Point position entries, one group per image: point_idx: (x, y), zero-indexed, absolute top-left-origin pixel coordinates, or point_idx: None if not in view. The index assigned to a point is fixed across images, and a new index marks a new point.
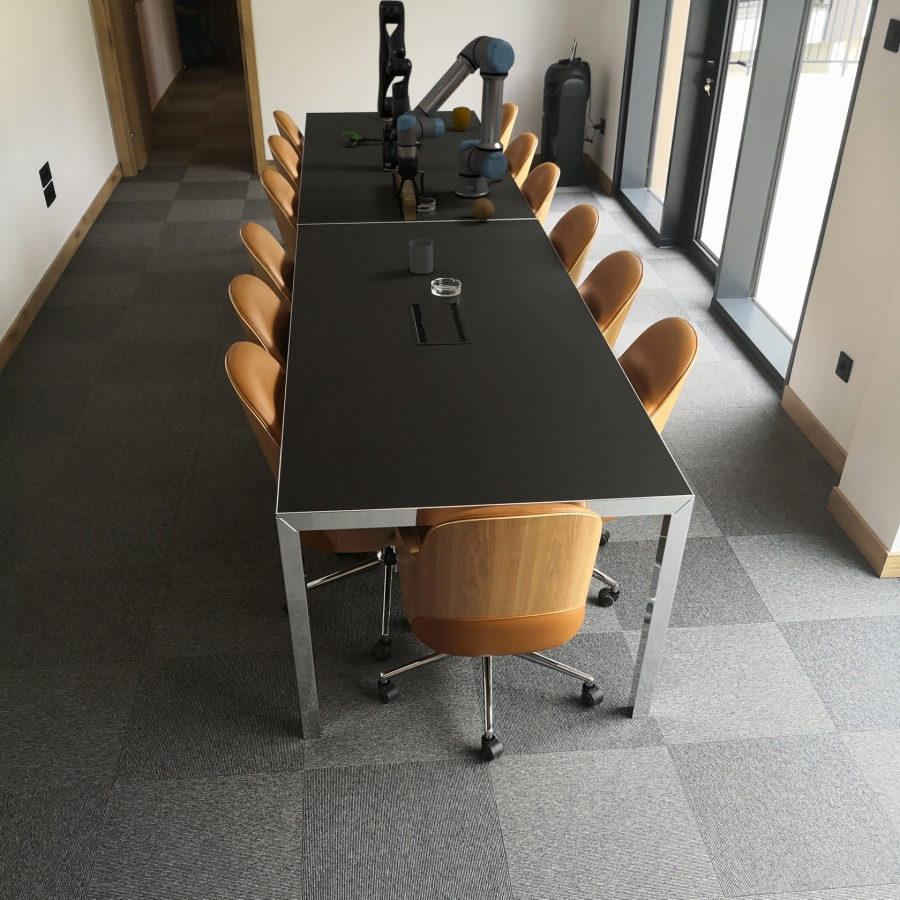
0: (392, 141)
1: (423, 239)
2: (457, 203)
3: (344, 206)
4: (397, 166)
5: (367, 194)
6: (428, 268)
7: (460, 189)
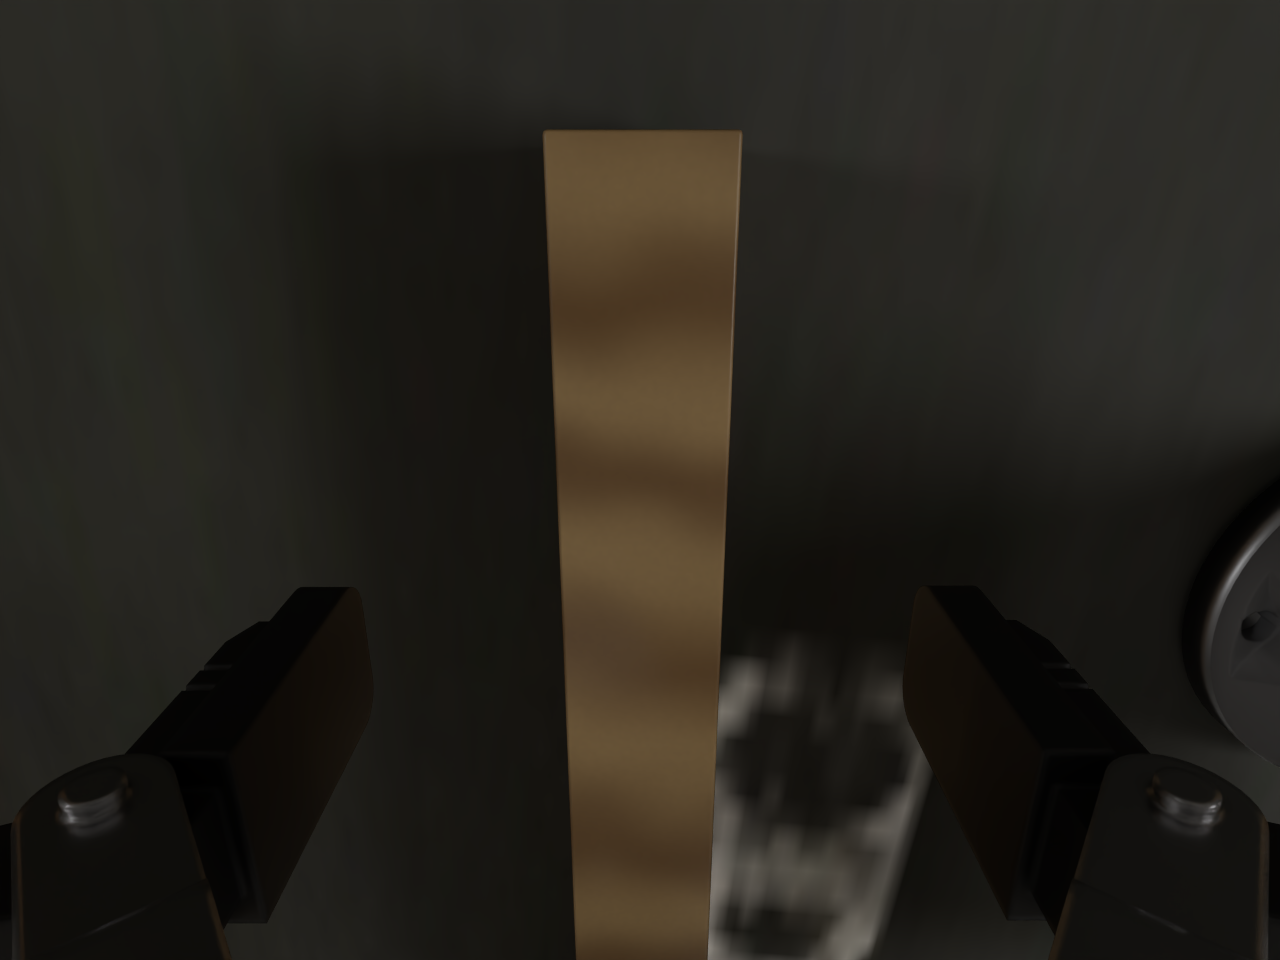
0: (290, 856)
1: None
2: None
3: None
4: (563, 163)
5: (227, 496)
6: None
7: (1264, 741)
